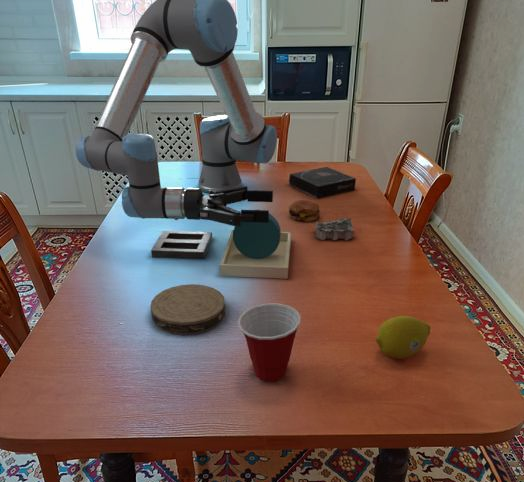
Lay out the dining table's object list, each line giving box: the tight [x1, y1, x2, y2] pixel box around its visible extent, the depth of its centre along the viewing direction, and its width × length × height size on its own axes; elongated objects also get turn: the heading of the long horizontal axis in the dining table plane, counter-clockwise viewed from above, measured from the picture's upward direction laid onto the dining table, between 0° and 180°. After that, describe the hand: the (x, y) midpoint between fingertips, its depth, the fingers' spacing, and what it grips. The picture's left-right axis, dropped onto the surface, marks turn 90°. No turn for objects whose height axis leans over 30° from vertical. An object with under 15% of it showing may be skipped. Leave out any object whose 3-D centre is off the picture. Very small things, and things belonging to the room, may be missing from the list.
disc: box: [232, 213, 282, 259], centre depth 125 cm, size 12×3×12 cm, turn 85°
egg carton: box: [315, 217, 355, 241], centre depth 139 cm, size 11×8×4 cm
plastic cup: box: [237, 302, 302, 383], centre depth 87 cm, size 11×11×12 cm
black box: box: [288, 166, 357, 199], centre depth 173 cm, size 16×17×4 cm
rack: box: [150, 230, 213, 260], centre depth 133 cm, size 14×13×2 cm
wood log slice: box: [150, 283, 227, 336], centre depth 105 cm, size 16×16×3 cm
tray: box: [219, 229, 292, 280], centre depth 128 cm, size 22×17×3 cm
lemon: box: [375, 315, 431, 360], centre depth 92 cm, size 11×8×8 cm
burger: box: [288, 198, 321, 223], centre depth 150 cm, size 10×9×5 cm
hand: (270, 206), depth 120 cm, fingers open, 13 cm apart
